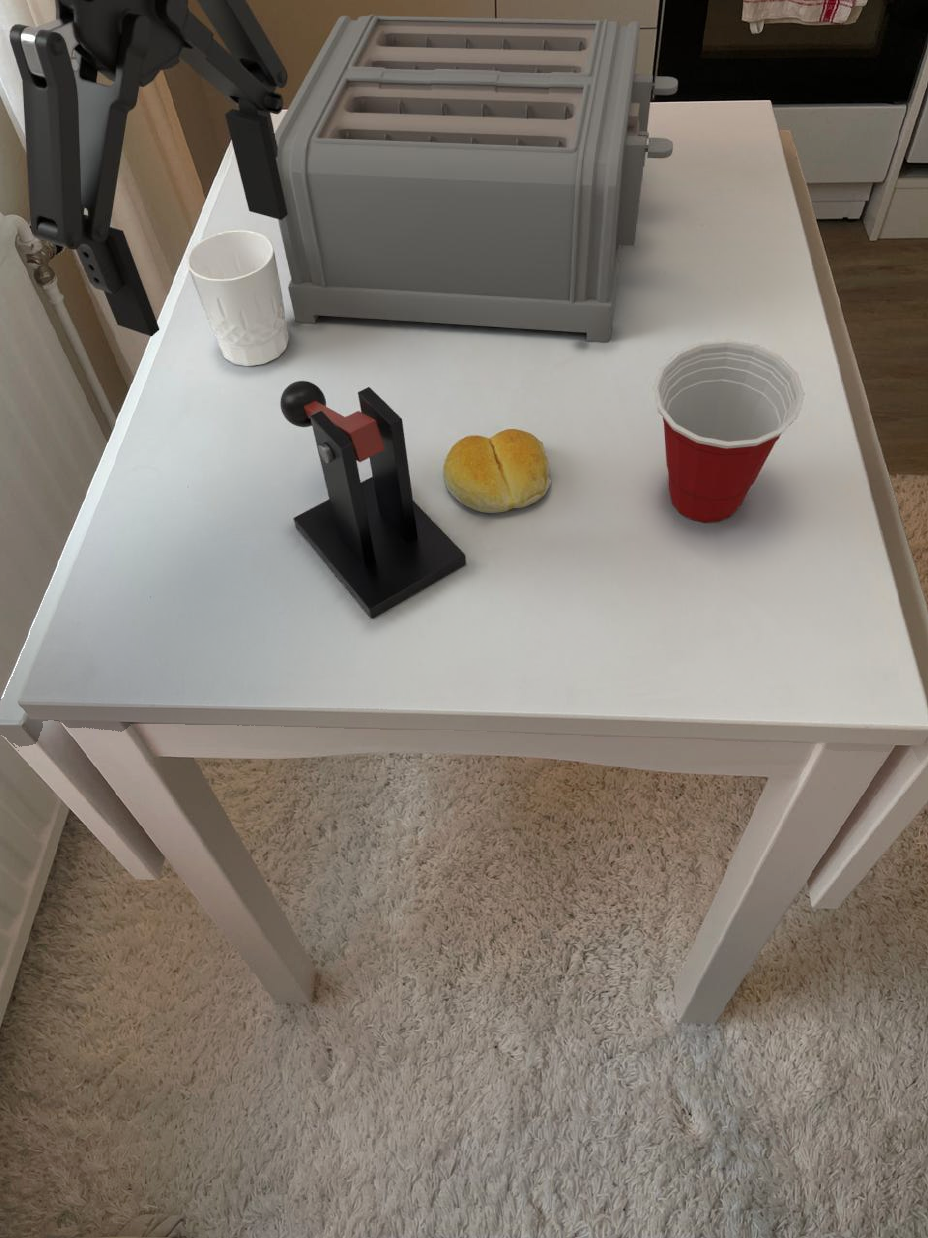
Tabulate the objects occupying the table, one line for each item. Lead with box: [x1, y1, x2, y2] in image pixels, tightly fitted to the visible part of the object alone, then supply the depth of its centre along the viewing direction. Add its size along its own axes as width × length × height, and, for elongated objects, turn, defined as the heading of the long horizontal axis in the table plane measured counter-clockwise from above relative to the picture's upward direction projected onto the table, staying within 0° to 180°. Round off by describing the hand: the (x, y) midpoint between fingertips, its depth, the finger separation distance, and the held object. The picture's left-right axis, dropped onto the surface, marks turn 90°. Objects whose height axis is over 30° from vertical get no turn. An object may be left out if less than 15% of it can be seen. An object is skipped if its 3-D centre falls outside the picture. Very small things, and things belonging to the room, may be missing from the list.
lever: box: [279, 380, 385, 463], centre depth 72 cm, size 13×4×4 cm, turn 35°
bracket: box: [293, 386, 467, 620], centre depth 72 cm, size 12×9×14 cm
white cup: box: [186, 229, 290, 367], centre depth 90 cm, size 8×8×10 cm
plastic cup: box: [652, 339, 806, 523], centre depth 74 cm, size 11×11×12 cm
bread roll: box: [442, 428, 552, 514], centre depth 80 cm, size 8×9×4 cm
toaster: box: [274, 14, 679, 343], centre depth 96 cm, size 31×36×17 cm
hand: (207, 267), depth 61 cm, fingers open, 13 cm apart
